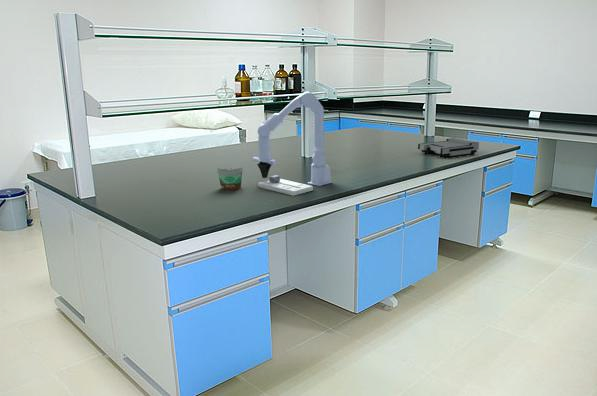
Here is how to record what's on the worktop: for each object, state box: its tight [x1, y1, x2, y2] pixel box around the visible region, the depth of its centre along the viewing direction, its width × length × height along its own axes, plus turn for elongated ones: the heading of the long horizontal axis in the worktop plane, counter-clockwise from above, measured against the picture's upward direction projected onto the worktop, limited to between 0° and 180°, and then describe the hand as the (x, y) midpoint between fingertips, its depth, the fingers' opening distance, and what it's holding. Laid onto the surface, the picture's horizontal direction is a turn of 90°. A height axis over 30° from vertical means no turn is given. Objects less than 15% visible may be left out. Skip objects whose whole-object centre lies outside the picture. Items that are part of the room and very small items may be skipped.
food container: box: [216, 167, 245, 192], centre depth 227 cm, size 12×6×10 cm, turn 106°
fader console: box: [257, 178, 314, 197], centre depth 229 cm, size 13×23×2 cm, turn 47°
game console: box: [417, 137, 480, 159], centre depth 313 cm, size 21×32×8 cm, turn 120°
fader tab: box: [268, 174, 281, 183], centre depth 233 cm, size 4×3×3 cm
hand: (264, 177), depth 238 cm, fingers closed
